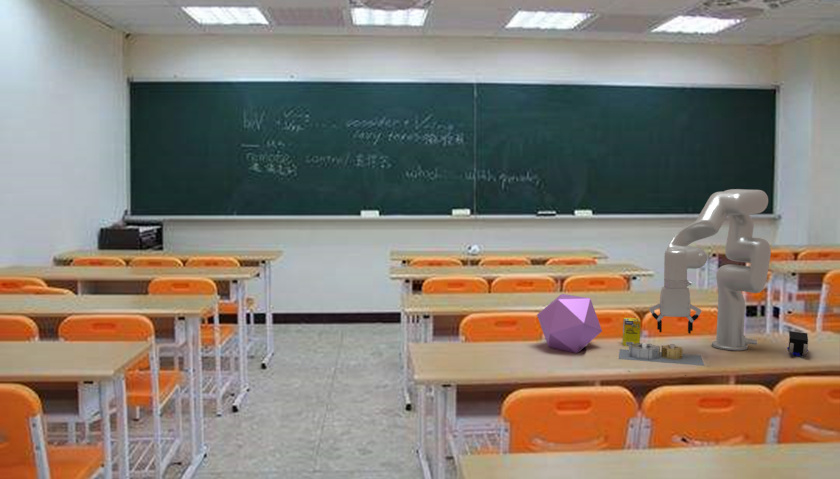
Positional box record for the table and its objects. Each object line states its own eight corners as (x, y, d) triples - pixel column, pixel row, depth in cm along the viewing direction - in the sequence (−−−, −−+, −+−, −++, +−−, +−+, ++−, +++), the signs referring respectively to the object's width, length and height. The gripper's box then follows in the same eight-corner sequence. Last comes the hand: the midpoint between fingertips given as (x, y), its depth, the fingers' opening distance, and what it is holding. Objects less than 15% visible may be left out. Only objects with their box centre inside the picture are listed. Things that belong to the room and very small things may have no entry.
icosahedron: (615, 339, 259) (597, 279, 272) (561, 342, 254) (545, 280, 267) (591, 363, 277) (575, 306, 290) (540, 366, 272) (526, 307, 285)
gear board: (700, 358, 259) (701, 342, 259) (704, 369, 245) (705, 352, 245) (619, 352, 267) (620, 337, 267) (618, 362, 253) (619, 346, 252)
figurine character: (808, 364, 259) (806, 350, 272) (810, 343, 257) (808, 330, 271) (787, 362, 262) (786, 348, 275) (788, 341, 260) (787, 329, 274)
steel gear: (658, 353, 261) (659, 344, 260) (659, 360, 251) (660, 350, 250) (628, 351, 264) (629, 342, 263) (628, 358, 254) (628, 348, 253)
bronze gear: (681, 355, 258) (682, 345, 258) (682, 360, 252) (683, 350, 252) (661, 353, 260) (661, 344, 260) (661, 358, 254) (662, 348, 254)
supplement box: (640, 350, 271) (641, 321, 270) (623, 349, 272) (624, 320, 271) (638, 346, 277) (639, 318, 276) (622, 345, 278) (623, 317, 277)
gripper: (700, 283, 255) (700, 330, 257) (649, 281, 260) (648, 328, 262) (702, 286, 248) (701, 335, 250) (649, 285, 253) (649, 333, 255)
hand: (674, 332), depth 256 cm, fingers open, 9 cm apart
